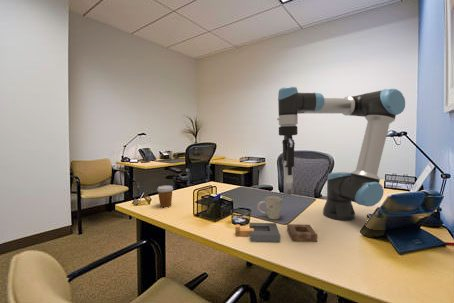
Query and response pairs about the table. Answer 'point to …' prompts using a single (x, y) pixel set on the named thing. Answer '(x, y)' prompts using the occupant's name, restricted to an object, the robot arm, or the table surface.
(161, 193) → the disposable coffee cup
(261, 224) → the socket block
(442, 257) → the table surface
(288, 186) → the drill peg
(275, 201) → the mug
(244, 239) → the table surface
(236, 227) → the wooden block
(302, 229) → the block
